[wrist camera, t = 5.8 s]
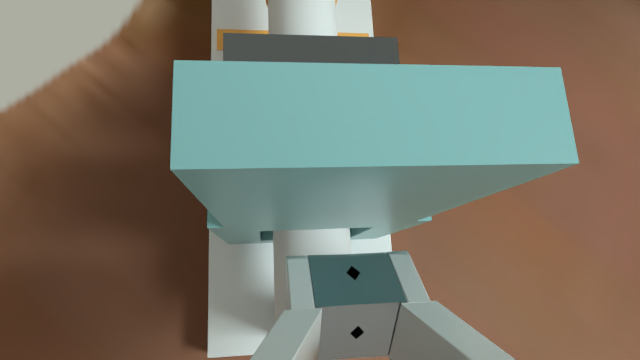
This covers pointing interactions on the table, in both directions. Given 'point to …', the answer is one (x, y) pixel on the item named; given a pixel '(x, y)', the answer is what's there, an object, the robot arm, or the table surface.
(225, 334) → the pipe stand
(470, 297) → the table surface
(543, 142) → the teal notched saddle block
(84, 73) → the table surface
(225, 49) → the dark gray block
